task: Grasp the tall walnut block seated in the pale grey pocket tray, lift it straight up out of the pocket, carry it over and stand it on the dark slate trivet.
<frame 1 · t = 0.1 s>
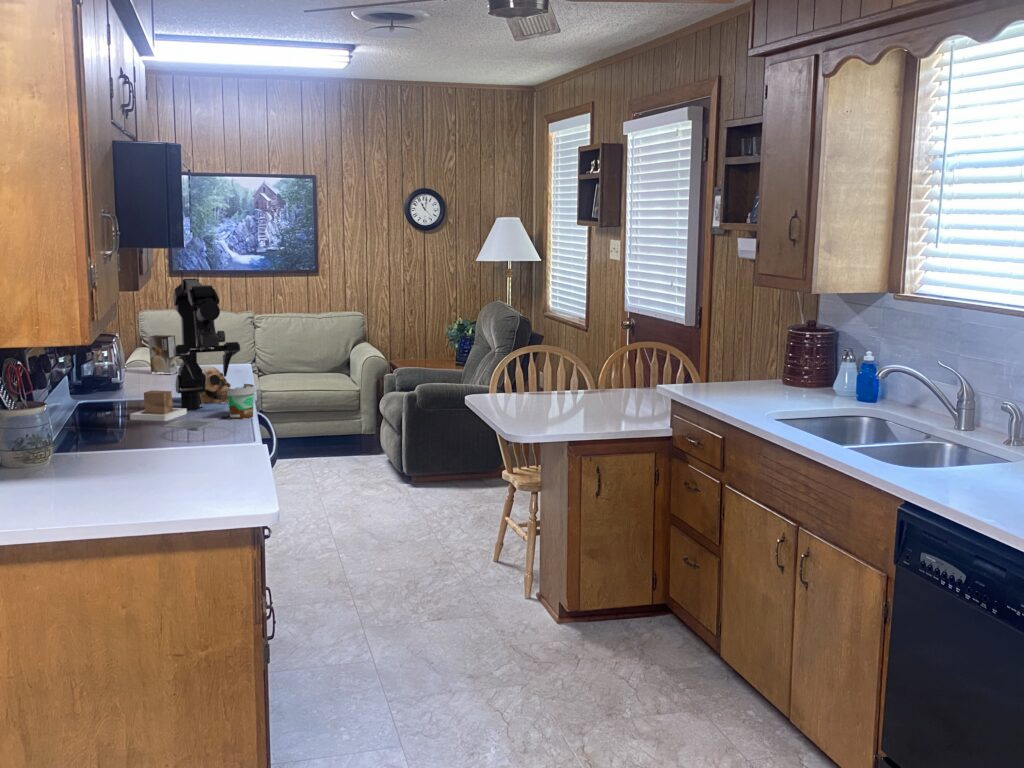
hand: (209, 377, 297), 15 cm above the counter, tool pointing down, fingers open, 9 cm apart
pocket tray: (159, 418, 314), on the counter
walnut block: (159, 416, 314), point 1 cm above the counter, touching pocket tray
slate trivet: (188, 426, 301), on the counter
food container: (246, 417, 316), on the counter
coffee box: (164, 374, 414), on the counter
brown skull: (209, 401, 347), on the counter
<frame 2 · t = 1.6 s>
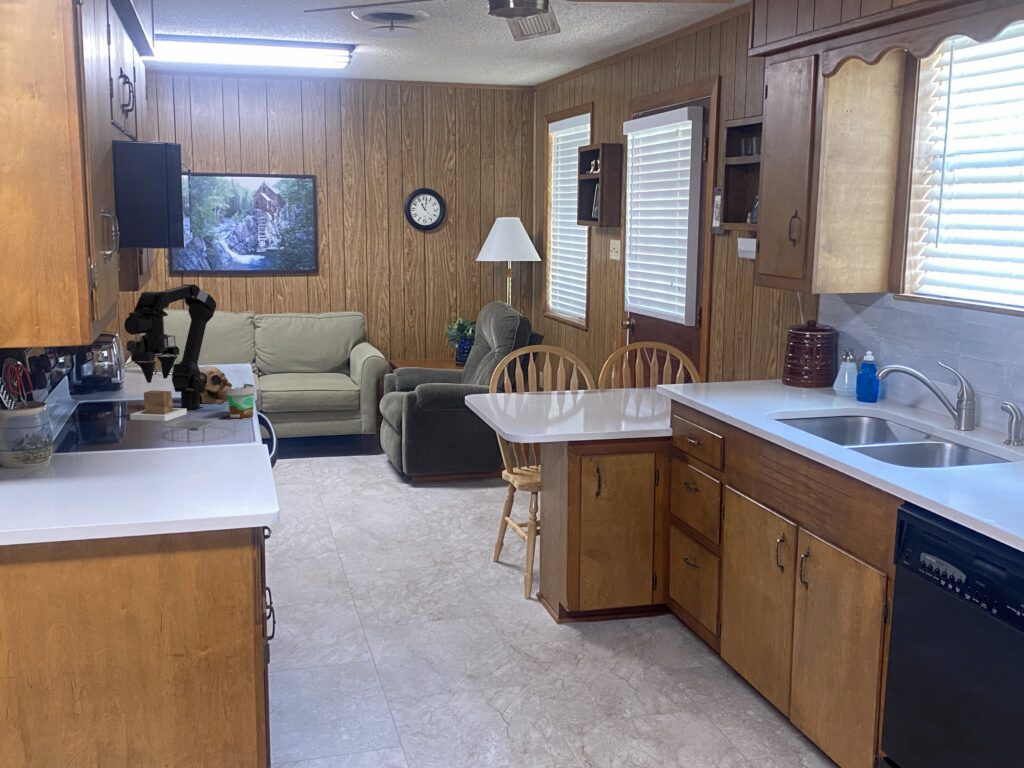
hand: (157, 380, 312), 12 cm above the counter, tool pointing down, fingers open, 9 cm apart
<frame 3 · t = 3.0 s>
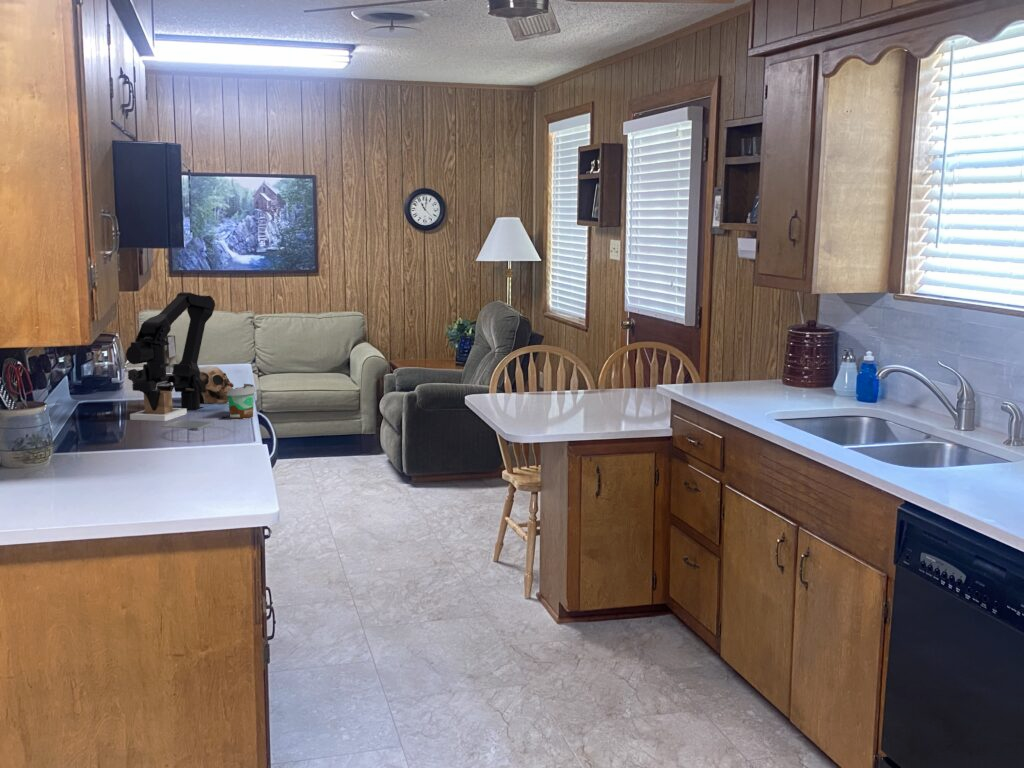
hand: (158, 409, 314), 3 cm above the counter, tool pointing down, fingers closed on walnut block, 4 cm apart
walnut block: (159, 416, 314), point 1 cm above the counter, touching gripper, pocket tray
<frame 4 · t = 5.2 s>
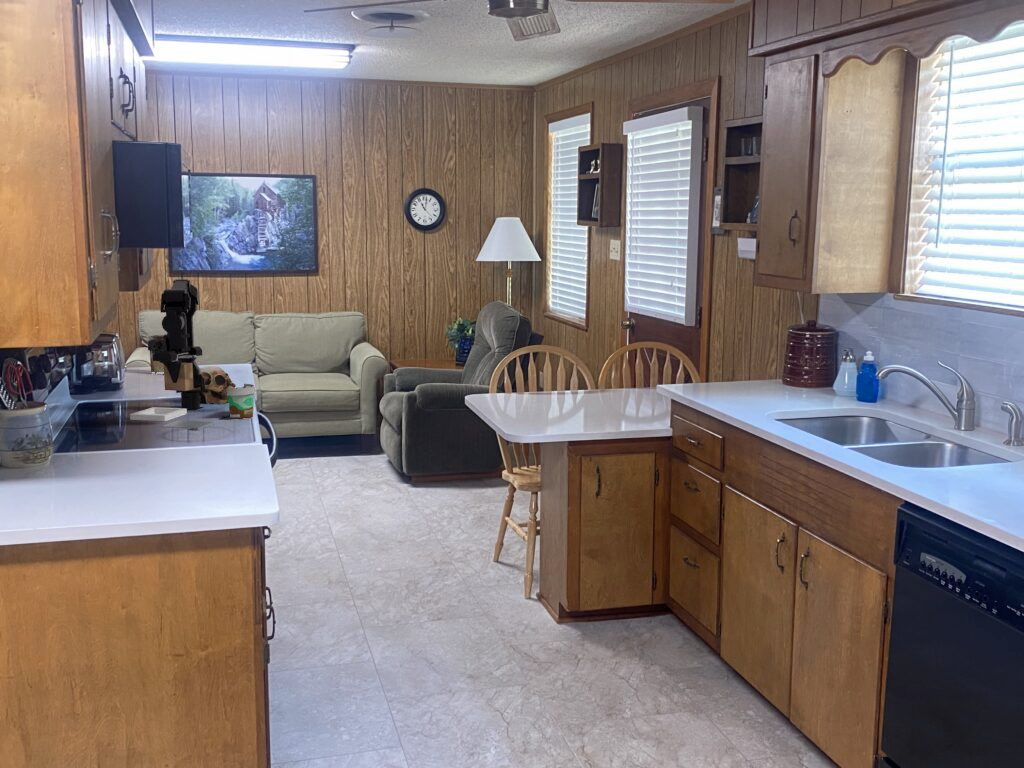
hand: (179, 381, 301), 13 cm above the counter, tool pointing down, fingers closed on walnut block, 4 cm apart
walnut block: (179, 389, 302), point 11 cm above the counter, touching gripper
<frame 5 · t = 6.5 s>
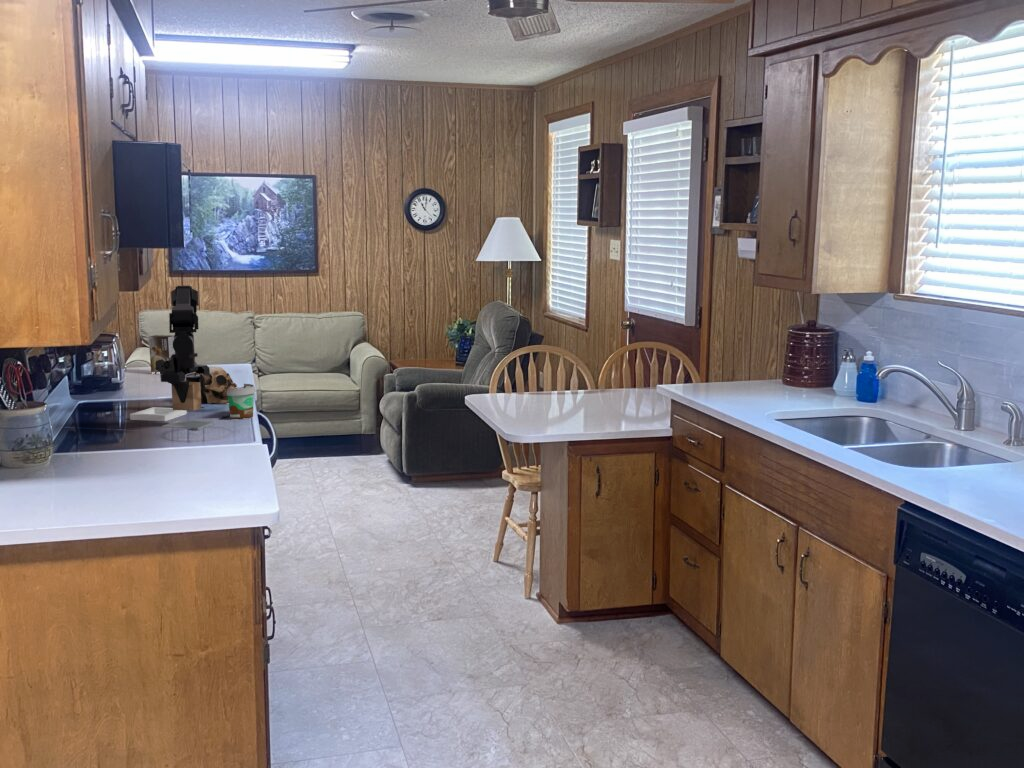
hand: (187, 401, 300), 8 cm above the counter, tool pointing down, fingers closed on walnut block, 4 cm apart
walnut block: (187, 409, 300), point 5 cm above the counter, touching gripper
when the fingers open (5 cm above the counter, at t = 7.4 s): walnut block drops 2 cm, resting on slate trivet.
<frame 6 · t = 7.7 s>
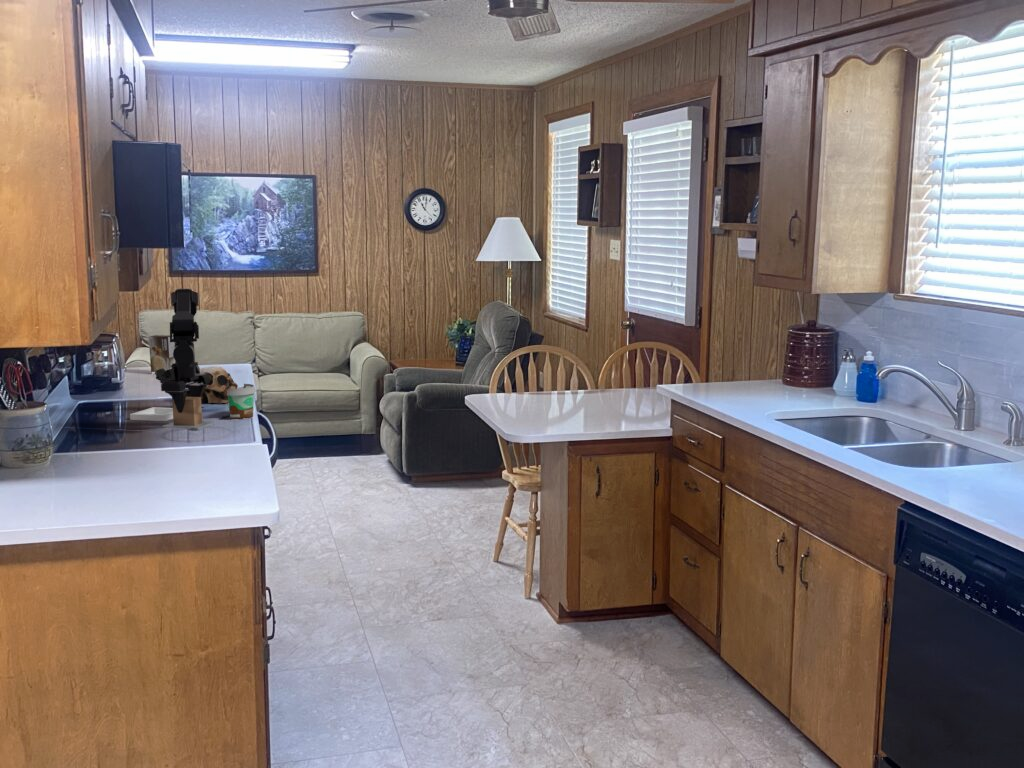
hand: (187, 410, 300), 5 cm above the counter, tool pointing down, fingers open, 8 cm apart
walnut block: (187, 423, 301), point 1 cm above the counter, touching slate trivet
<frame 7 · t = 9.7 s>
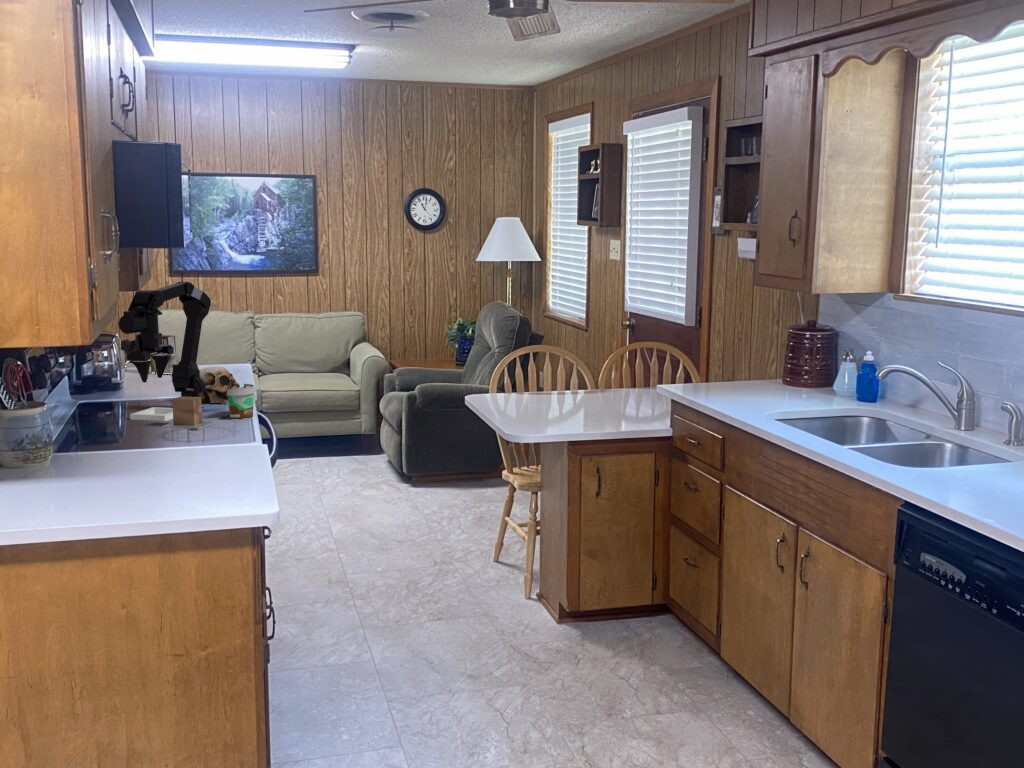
hand: (152, 380, 310), 13 cm above the counter, tool pointing down, fingers open, 9 cm apart
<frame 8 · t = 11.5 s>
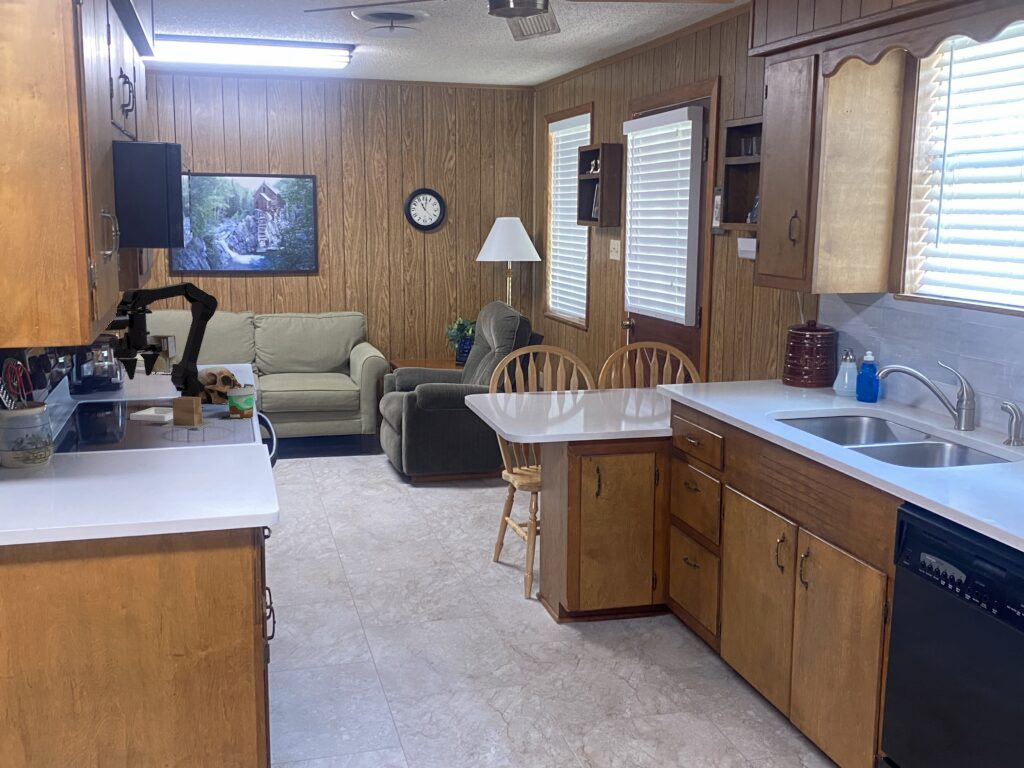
hand: (139, 377, 313), 13 cm above the counter, tool pointing down, fingers open, 9 cm apart
at the end: walnut block inside the target area on the slate trivet (0.1 cm from its centre), point 0.8 cm above the slate trivet's base; walnut block tilted 0°; the gripper is holding nothing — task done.
